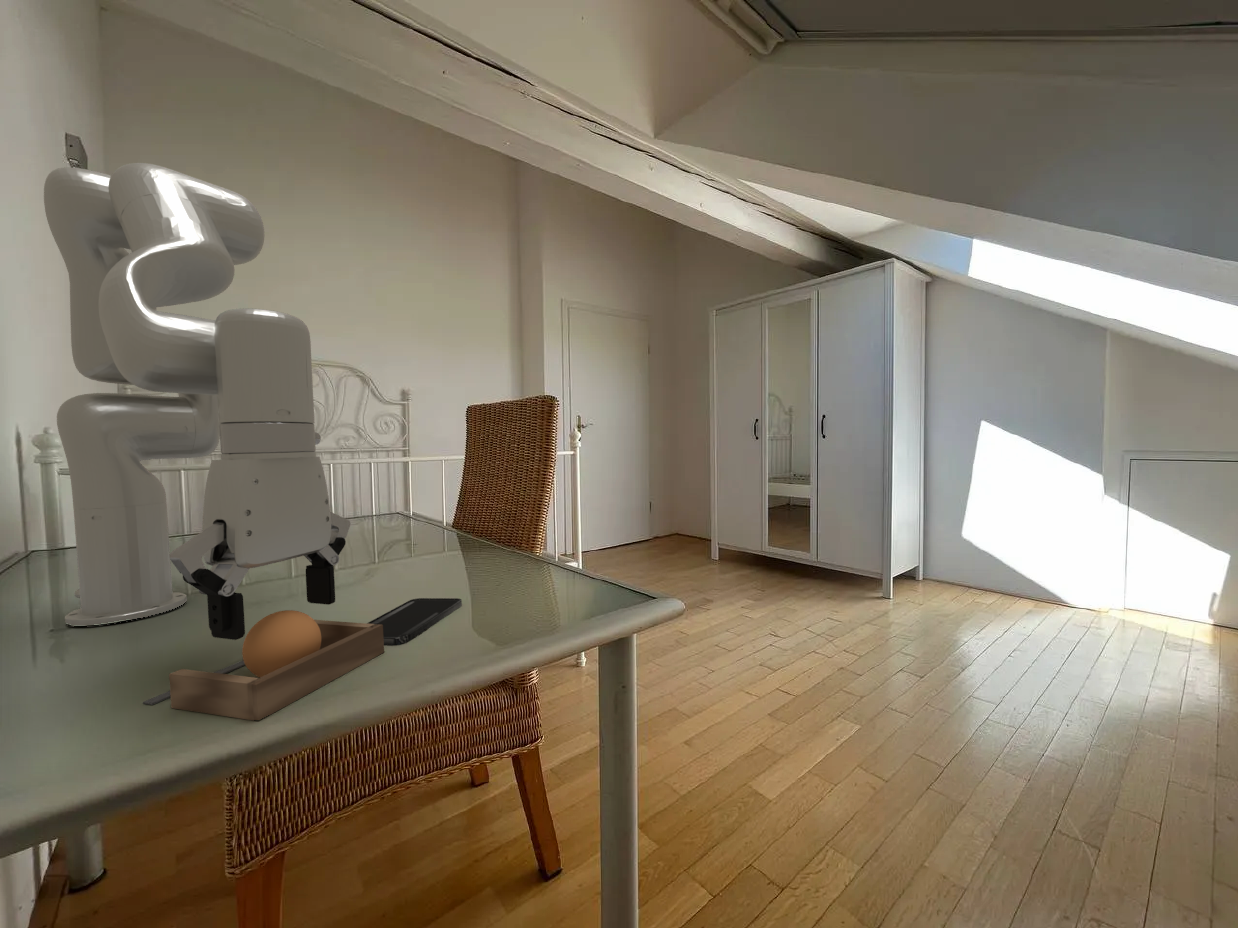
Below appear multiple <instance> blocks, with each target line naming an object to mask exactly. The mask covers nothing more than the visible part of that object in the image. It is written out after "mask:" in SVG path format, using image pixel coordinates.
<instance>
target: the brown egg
mask: <svg viewBox="0 0 1238 928" xmlns="http://www.w3.org/2000/svg"><path fill="white" fill-rule="evenodd" d="M315 620H316V619H314V618H312V616H310V615H309V614H307V613H304V612H302V611H299V610H293V609H291V610H290V609H289V610H279V611H276V612H273V613H269V614H268V615H266V616H265V617H262V618H261V619H260V620H258V621H257V622H255V624H254V625H253V626H252V627H251V629H249V631H248V632H247V634H246V635H245V638H244V640H243V644H242V649H241V656H242V659H243V660H244V663H245V667H246V668H247V669H248V670H249V671H250V672H251V674H253V675H254V676H256V677H257V678H260V677H262V676H264V675H267V674H269V673H271V672H273V671H275V670H277V669H279V668H282V667H284V666H286V665H288V664H290V663H292V662H295V661H297V660H299V659H301V658H303V657H305V656H307V655H310V654H312V653H314V652H316V651H318V650H319V649H320V646H321V632H320V628H319V626H318V624H317V623H316V622H315Z"/></svg>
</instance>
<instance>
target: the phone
mask: <svg viewBox="0 0 1238 928" xmlns="http://www.w3.org/2000/svg"><path fill="white" fill-rule="evenodd" d="M462 602H463V601H462V599H461V598H456V597H454V598H450V597H448V598H446V597H445V598H442V597H438V598H437V597H435V598H434V597H433V598H432V597H431V598H430V597H429V598H427V597H425V598H424V597H421V598H420V597H419V598H412V599H409V600H408V601H406V602H403V604H400V605H398V606H397V607H395V608H392V609H391V610H389V611H387V612H386V613H384V614H382V615H379V616H378V617H376V618H375V619H373V620H370V621H368V622H366V623H367V624H380V625H383V638H384V646H402V645H404V644H407V643H409V642H410V641H412V640H414V639H415V638H417V637H418V636H419V635H421V634H423V633H424V632H425V631H427V630H428V629H430V628H432V627H433V626H434V625H436V624H437V623H439V622H440V621H442V620H443V619H444V618H446V617H447V616H449V615H450V614H452V613H453V612H455V611H457V610H458V609H459V608H461V607H463V606H462Z"/></svg>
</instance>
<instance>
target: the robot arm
mask: <svg viewBox="0 0 1238 928" xmlns="http://www.w3.org/2000/svg"><path fill="white" fill-rule="evenodd" d="M43 187H44V188H43V202H44V203H43V204H44V211H45V212H44V213H45V216H46V220H47V224H48V226H49V229H50V233H51V234H52V237H53V239H54V242H55V244H56V246H57V248H58V249H59V253H60V255H61V257H62V259H63V260H64V265H65V267H66V270H67V273H68V280H69V312H70V313H69V314H70V320H69V321H70V343H71V344H70V345H71V355H72V359H73V360H72V361H73V363H74V366H75V368H76V370H77V372H78V373H80V374H81V375H82V376H83V377H84V378H87V379H89V380H92V381H96V382H100V383H106V384H107V383H108V384H118V385H130V386H135V387H136V388H137V387H138V388H140V389H142V390H146V391H150V392H155V393H156V392H157V393H172V394H178V396H168V395H167V396H166V395H164V396H162V395H148V394H135V393H116V392H96V393H95V392H93V393H84V394H79V395H76V396H73V397H71V398H68V399H67V400H64V401H63V402H62V404H60V406H59V407H58V411H57V413H56V426H57V431H58V434H59V438H60V441H61V444H62V447H63V451H64V455H65V458H66V462H67V467H68V473H69V476H70V477H69V478H70V485H71V496H72V508H73V518H74V519H73V520H74V532H75V533H74V534H75V543H76V544H75V547H76V561H77V574H78V575H77V576H78V584H79V585H78V587H79V589H76V591H75V592H74V596H75V598H78V599H80V608H78V609H75V610H73V611H70V612H69V613H66V615H65V616H64V623H65V622H66V623H68V624H71V625H94V624H101V623H108V622H114V621H119V620H126V619H136V620H138V619H137V618H141V619H144V618H143V617H145V618H148V616H149V617H152V616H151V615H153V616H156V615H155V614H157V615H160V614H159V613H161V614H164V613H167V612H170V611H173V610H175V608H176V609H178V608H180V607H182V606H184V605H185V604H186V603H187V602H188V598H187V594H185V593H183V592H177V591H176V592H173V581H172V565H171V563H172V564H173V565H174V567H175V568H176V569H177V571H178V572H179V574H181V575H182V579H183V581H184V582H185V583H187V584H188V585H190V586H192V587H193V588H194V589H196V590H198V592H199V594H201V595H205V596H206V600H207V614H208V618H207V619H208V627H209V630H210V632H211V636H212V637H213V638H217V639H224V640H232V641H233V640H234V641H236V640H239V639H242V638H243V637H244V636H246V635H245V634H246V628H245V627H246V625H245V609H244V608H245V607H244V606H245V605H244V596H243V594H242V592H236V590H237V589H238V587H239V586H240V584H241V582H243V580H244V578H245V576H246V575H247V573H248V572H249V570H250V569H253V568H259V567H264V566H268V565H272V564H276V563H280V562H284V561H289V560H291V559H292V560H293V559H296V558H299V557H304V558H305V559H307V561H309V562H310V563H311V564H308V565H306V566H305V587H306V588H305V589H306V601H307V603H309V604H317V605H319V604H320V605H332V604H335V602H336V587H335V586H336V585H335V566H337V564H339V562H340V556H339V555H340V554H341V552H342V551H343V549H344V548H345V545H346V538H347V536H348V533H349V531H350V527H351V521H350V520H349V519H347V518H346V517H344V516H341V515H338V514H336V513H333V512H331V505H330V498H329V491H328V485H327V481H326V480H327V479H326V475H325V471H324V466H323V463H322V460H321V457H320V456H317V452H316V448H317V447H316V445H317V446H318V444H320V443H321V438H322V437H321V435H320V434H319V432H316V431H315V430H316V429H315V408H314V407H315V405H314V384H313V366H312V350H311V349H312V347H311V346H312V344H311V342H312V341H311V333H310V331H309V328H308V326H307V325H306V323H305V322H304V321H303V320H301V319H300V318H299V317H297V316H294V315H292V314H289V313H285V312H282V311H278V310H271V309H264V308H252V307H250V308H249V307H247V308H245V307H243V308H241V307H240V308H234V309H227V310H224V311H223V312H220V313H219V314H218V316H217V317H216V319H209V318H203V317H199V316H192V315H187V314H179V313H173V312H165V311H159V310H157V308H161V307H171V306H177V305H183V304H184V305H185V304H189V303H190V304H191V303H196V302H202V301H205V300H210V299H211V298H214V297H216V296H219V295H221V294H222V293H224V291H226V290H227V289H228V288H229V287H230V285H231V284H232V282H233V280H234V277H235V266H238V265H242V264H243V265H244V264H246V263H249V262H252V261H253V260H254V259H257V257H258V256H259V255H260V253H261V251H262V250H263V246H264V244H265V227H264V222H263V220H262V216H261V214H260V213H259V211H258V209H257V208H256V206H255V205H254V204H253V202H251V201H250V200H249V199H248V197H245V196H244V195H242V194H240V193H239V192H236V191H234V190H231V189H229V188H226V187H222V186H220V185H218V184H214V183H211V182H209V181H205V180H203V179H201V178H197V177H195V176H191V175H189V174H185V173H183V172H180V171H178V170H175V169H172V168H168V167H165V166H162V165H158V164H154V163H148V162H132V163H126V164H123V165H121V166H119V167H118V168H115V170H114V171H113V172H112V173H111V174H107V173H104V172H99V171H95V170H90V169H86V168H80V167H69V166H67V167H66V166H64V167H59V168H56V169H53V170H52V171H50V172H49V173H48V175H47V176H46V179H45V181H44V186H43ZM127 250H131V252H130V253H129V252H128V251H127ZM219 443H220V459H211V462H210V465H209V469H208V473H207V478H206V482H205V489H204V495H203V498H204V499H203V509H202V512H203V513H202V531H201V532H199V533H198V534H196V535H195V536H193V537H192V538H190V539H189V540H186V541H185V542H183V543H182V544H181V545H180V546H178V547H176V548H175V549H174V550H172V551H171V550H170V536H169V534H170V533H169V522H168V521H169V519H168V508H167V494H166V489H165V487H164V485H163V483H162V481H161V480H159V478H158V477H156V475H154V473H152V472H151V471H149V470H148V469H147V468H146V467H145V466H144V465H143V464H142V462H141V461H149V460H166V459H168V460H169V459H170V460H171V459H192V458H193V459H194V458H196V459H197V458H201V457H202V458H203V457H207V456H209V455H211V454H212V453H214V452H215V451H216V449H217V448H218V445H219ZM203 560H204V562H205V563H206V564H207V565H208V566H212V567H211V568H210V569H209V568H206V566H205V564H204V562H203ZM186 601H187V602H186ZM185 602H186V603H185ZM184 603H185V604H184ZM183 604H184V605H183ZM181 605H182V606H181ZM179 606H180V607H179ZM177 607H178V608H177ZM172 609H173V610H172ZM169 610H170V611H169ZM166 611H167V612H166ZM163 612H164V613H163Z"/></svg>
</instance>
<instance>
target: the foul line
mask: <svg viewBox="0 0 1238 928" xmlns="http://www.w3.org/2000/svg"><path fill="white" fill-rule="evenodd" d="M242 667H246V665H245V663H244V660H240V661H238V662H235V663H234V664H231V665H228V666H226V667H223V668H221V669H219V670H216V671H213V673H220V674H228V673H230V672H233V671H236V670H237V669H240V668H242ZM169 698H170V699H171V695H170V690H168V691H166V692H163V693H161V694H159V695H157V696H154V697H151V698H149V699H147V700H144V701H142V704H143V705H150V706H153V705H156V704H158V703H161V702H162V701H165V700H168V699H169Z"/></svg>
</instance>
